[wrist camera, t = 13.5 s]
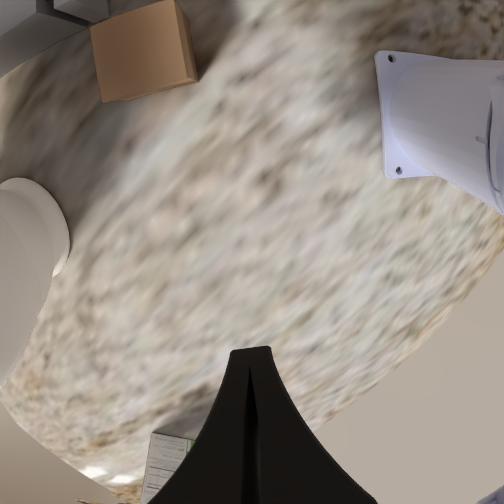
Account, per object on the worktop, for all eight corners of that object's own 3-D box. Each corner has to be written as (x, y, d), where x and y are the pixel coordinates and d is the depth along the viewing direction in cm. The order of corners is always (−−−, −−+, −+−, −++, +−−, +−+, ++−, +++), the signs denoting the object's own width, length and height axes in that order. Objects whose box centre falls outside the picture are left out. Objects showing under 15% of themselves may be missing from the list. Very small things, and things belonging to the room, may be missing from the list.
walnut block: (187, 18, 12) (173, -3, 9) (199, 81, 14) (187, 77, 11) (120, 38, 12) (89, 27, 9) (131, 99, 14) (102, 102, 11)
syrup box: (190, 453, 35) (185, 542, 22) (149, 446, 34) (138, 534, 21) (195, 439, 32) (190, 540, 20) (149, 430, 32) (135, 531, 19)
